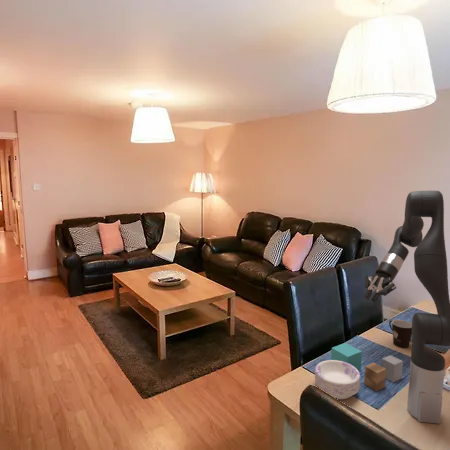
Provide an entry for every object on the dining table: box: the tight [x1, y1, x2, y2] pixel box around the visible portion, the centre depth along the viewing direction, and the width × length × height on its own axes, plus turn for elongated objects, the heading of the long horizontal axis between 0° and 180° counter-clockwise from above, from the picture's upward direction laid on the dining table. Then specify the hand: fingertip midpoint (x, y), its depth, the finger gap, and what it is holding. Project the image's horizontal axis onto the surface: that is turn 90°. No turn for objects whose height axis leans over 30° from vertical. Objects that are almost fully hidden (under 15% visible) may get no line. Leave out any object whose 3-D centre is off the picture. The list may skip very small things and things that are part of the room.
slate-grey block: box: [381, 354, 404, 383], centre depth 128 cm, size 5×5×7 cm
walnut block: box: [363, 362, 387, 392], centre depth 123 cm, size 5×5×7 cm
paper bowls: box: [314, 359, 361, 400], centre depth 120 cm, size 15×15×8 cm
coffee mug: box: [388, 319, 412, 349], centre depth 153 cm, size 12×9×10 cm
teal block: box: [330, 342, 363, 372], centre depth 134 cm, size 8×8×8 cm
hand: (369, 300), depth 137 cm, fingers closed
